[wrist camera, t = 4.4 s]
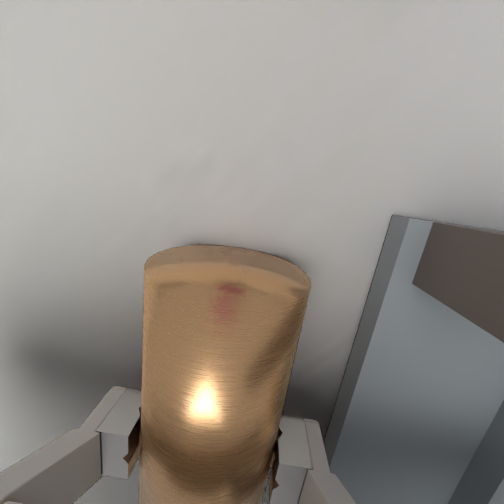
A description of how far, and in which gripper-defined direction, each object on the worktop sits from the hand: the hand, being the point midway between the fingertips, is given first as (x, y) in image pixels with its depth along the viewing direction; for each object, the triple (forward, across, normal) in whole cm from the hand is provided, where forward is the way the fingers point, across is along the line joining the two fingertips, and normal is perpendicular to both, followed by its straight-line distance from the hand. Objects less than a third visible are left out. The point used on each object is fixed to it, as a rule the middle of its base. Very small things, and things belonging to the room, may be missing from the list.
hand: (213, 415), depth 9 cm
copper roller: (0, 0, 0) cm, 0 cm away
